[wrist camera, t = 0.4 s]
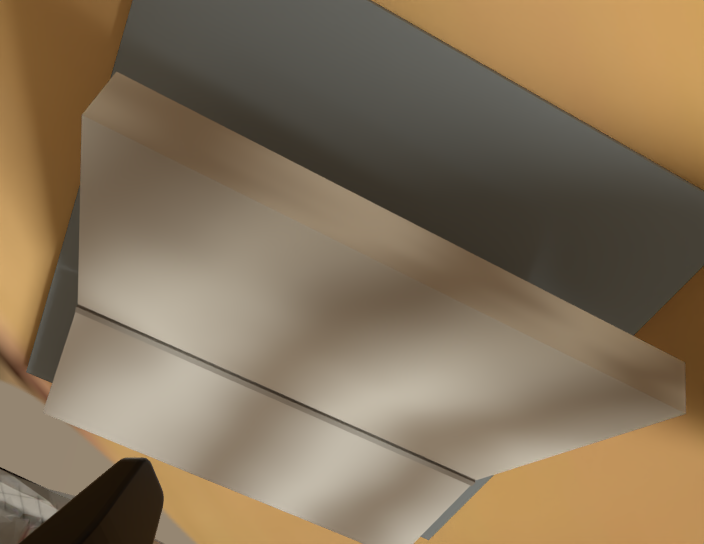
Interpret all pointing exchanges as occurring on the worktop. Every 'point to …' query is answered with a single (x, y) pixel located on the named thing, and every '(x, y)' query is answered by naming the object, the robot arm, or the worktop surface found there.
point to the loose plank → (343, 298)
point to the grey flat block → (244, 435)
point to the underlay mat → (415, 151)
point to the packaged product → (26, 506)
